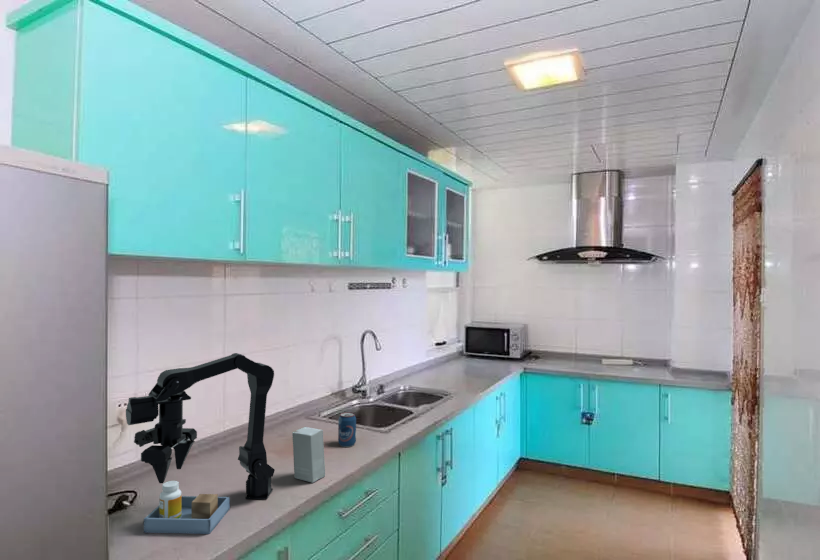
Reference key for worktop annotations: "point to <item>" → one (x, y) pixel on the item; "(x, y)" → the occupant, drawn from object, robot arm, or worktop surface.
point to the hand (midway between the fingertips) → (170, 475)
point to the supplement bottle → (170, 500)
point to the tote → (186, 519)
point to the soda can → (347, 429)
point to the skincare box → (308, 454)
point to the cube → (204, 506)
